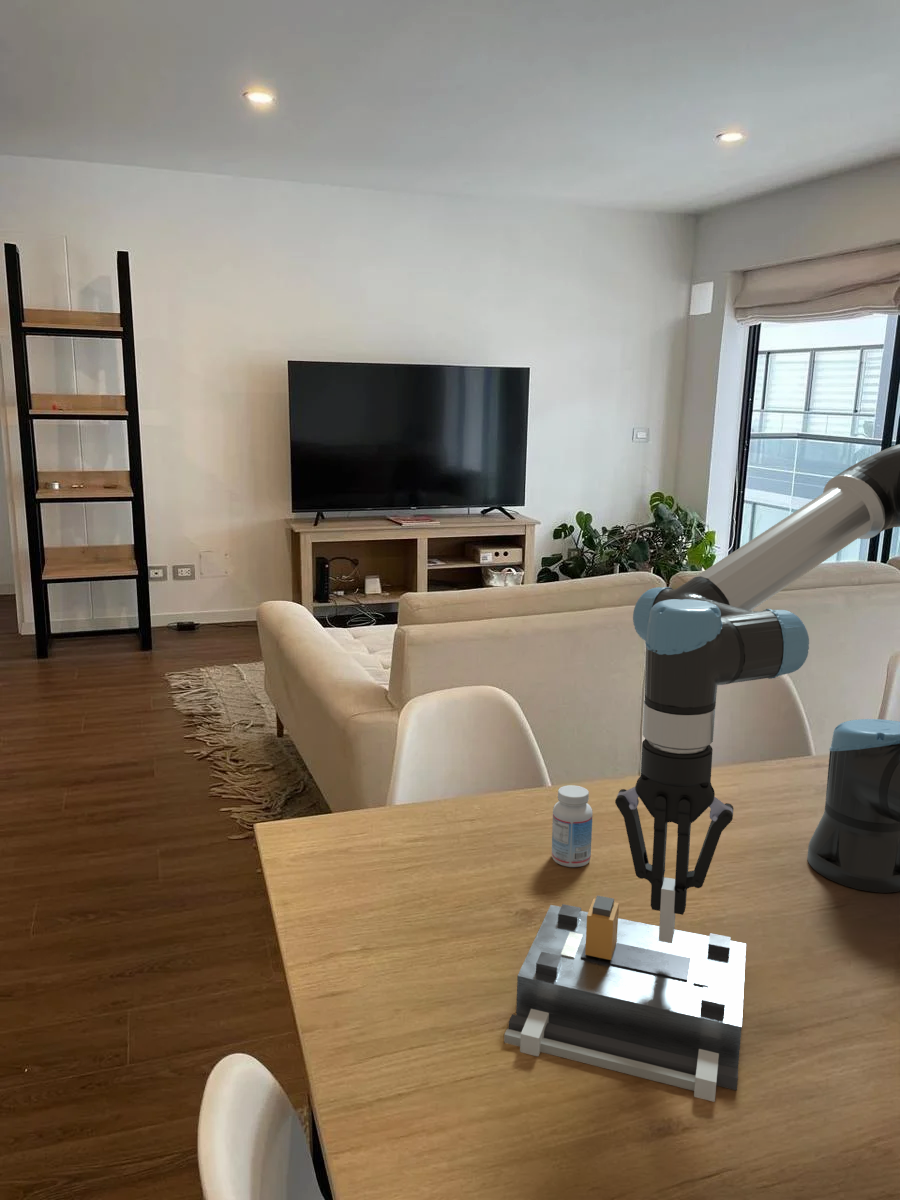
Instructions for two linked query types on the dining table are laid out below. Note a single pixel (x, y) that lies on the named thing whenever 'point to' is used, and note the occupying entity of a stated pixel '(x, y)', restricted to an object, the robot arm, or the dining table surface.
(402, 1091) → the dining table surface
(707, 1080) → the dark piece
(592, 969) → the panel
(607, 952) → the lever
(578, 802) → the pill bottle
